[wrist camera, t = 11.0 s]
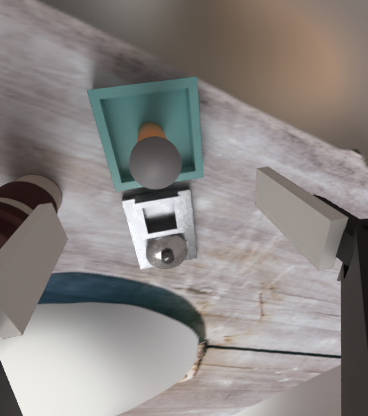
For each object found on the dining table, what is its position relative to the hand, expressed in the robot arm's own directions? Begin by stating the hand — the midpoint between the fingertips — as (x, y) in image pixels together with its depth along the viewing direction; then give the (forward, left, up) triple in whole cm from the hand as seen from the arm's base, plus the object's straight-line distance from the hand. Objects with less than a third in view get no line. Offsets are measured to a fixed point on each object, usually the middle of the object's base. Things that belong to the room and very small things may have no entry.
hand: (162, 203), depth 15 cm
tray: (0, 0, -24) cm, 24 cm away
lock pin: (0, 0, -23) cm, 23 cm away
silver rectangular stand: (-1, -18, -24) cm, 30 cm away
